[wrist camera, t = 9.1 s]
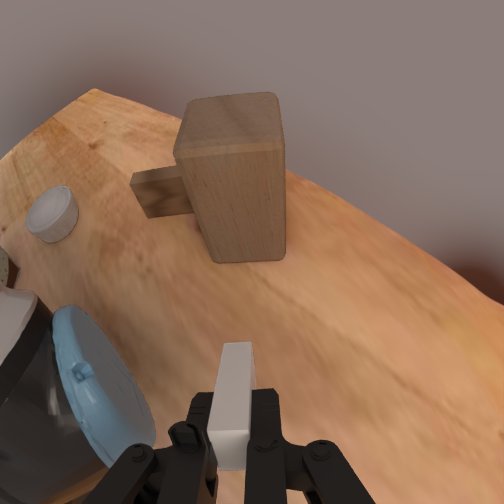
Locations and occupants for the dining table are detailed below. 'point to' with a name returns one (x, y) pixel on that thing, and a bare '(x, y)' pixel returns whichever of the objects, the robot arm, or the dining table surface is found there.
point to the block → (236, 174)
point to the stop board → (161, 192)
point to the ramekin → (53, 214)
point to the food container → (8, 270)
